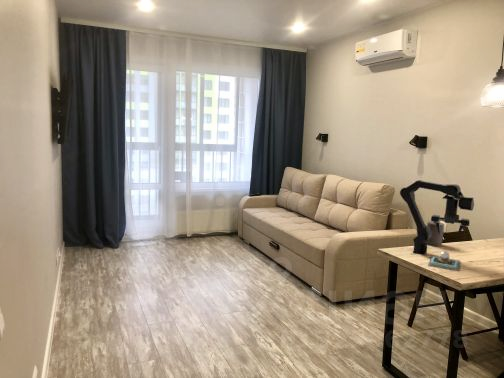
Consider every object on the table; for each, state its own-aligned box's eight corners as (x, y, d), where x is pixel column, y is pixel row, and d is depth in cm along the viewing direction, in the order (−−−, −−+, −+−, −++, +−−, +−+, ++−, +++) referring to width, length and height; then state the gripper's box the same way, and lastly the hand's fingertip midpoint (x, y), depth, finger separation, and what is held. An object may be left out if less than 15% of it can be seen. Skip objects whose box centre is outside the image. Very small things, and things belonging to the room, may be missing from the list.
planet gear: (435, 264, 214) (436, 252, 213) (437, 260, 220) (438, 249, 220) (451, 266, 211) (452, 255, 210) (452, 263, 217) (453, 252, 216)
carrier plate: (428, 265, 213) (428, 260, 212) (431, 256, 228) (432, 251, 228) (457, 271, 206) (458, 265, 206) (459, 261, 222) (460, 256, 221)
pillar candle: (425, 245, 252) (427, 221, 250) (424, 241, 261) (427, 218, 259) (442, 247, 249) (445, 223, 246) (441, 243, 258) (444, 220, 255)
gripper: (431, 207, 220) (428, 236, 222) (470, 212, 211) (467, 241, 213) (433, 204, 229) (430, 231, 232) (471, 209, 220) (467, 237, 223)
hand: (448, 235), depth 225 cm, fingers open, 9 cm apart
